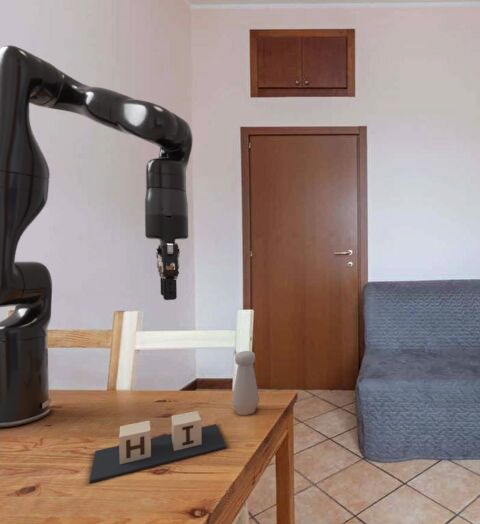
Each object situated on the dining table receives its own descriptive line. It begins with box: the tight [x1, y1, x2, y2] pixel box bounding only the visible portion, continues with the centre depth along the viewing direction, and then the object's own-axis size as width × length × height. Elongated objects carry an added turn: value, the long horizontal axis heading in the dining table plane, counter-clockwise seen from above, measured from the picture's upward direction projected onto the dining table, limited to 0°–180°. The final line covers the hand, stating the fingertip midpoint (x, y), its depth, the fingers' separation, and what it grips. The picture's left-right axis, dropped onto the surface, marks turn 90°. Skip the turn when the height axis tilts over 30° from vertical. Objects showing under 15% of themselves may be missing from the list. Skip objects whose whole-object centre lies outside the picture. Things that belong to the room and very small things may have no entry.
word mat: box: [88, 423, 227, 484], centre depth 65 cm, size 20×10×1 cm, turn 120°
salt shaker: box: [231, 350, 260, 416], centre depth 82 cm, size 6×6×13 cm
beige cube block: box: [171, 410, 202, 451], centre depth 67 cm, size 4×5×4 cm
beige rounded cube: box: [118, 420, 152, 464], centre depth 63 cm, size 4×5×4 cm
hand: (168, 297), depth 73 cm, fingers open, 8 cm apart
